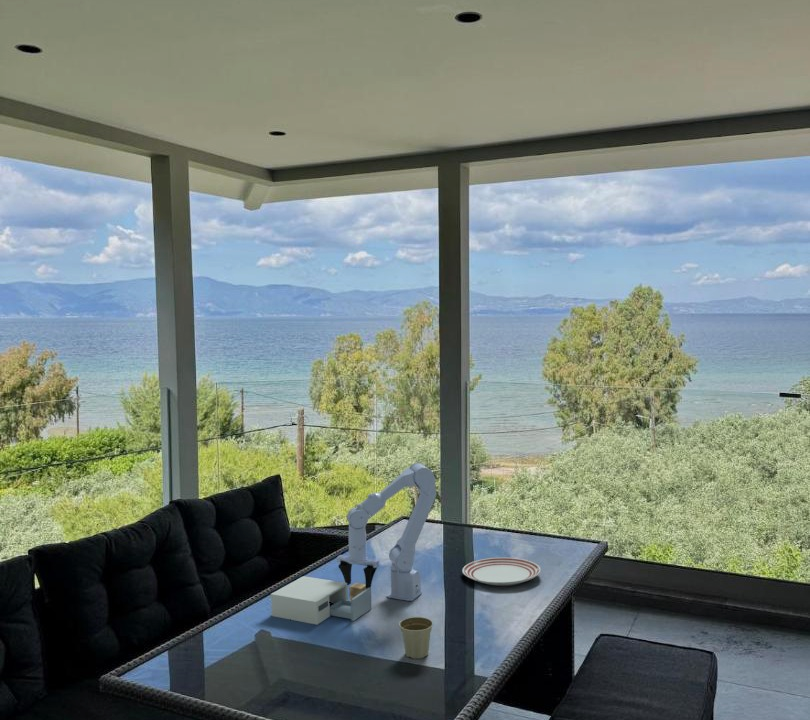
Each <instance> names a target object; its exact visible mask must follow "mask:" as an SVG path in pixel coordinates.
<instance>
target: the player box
mask: <svg viewBox="0 0 810 720" xmlns="http://www.w3.org/2000/svg"><path fill="white" fill-rule="evenodd" d="M348 598H349V597H348V585H347V583H345V582H342V581H336V580H331V579H330V580H329V579H324V578H317V577H312V576H311V577H310V576H304V575H303V576H301V577H299V578H297V579H296V580H294V581H291V582H290V583H288V584H286V585H284V586H283V587H281V588H279V589H277V590H276V591H274V592H272V593H270V609H271V615H270V616H271V617H275V618H279V619H280V618H281V619H284V620H290V619H291V621H295V622H296V621H297V622H302V623H306V624H312V625H317V626H318V625H319V624H320V623H322V622H324V621H325V620H326V619H328V618H330V617H331V615H330V606H331V605H330V604H335V603H336V602H338V601H339V600H341V599H344V600H348ZM329 602H331V603H329Z"/></svg>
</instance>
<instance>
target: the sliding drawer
mask: <svg viewBox="0 0 810 720" xmlns="http://www.w3.org/2000/svg"><path fill="white" fill-rule="evenodd" d="M329 606H330V616H332V617H339V618H344V619H349V620H351V621H352V622H354V621H356V620H357V619H359V618H360V617H362V616H363V615H364V614H366V613H367V612H368V611H371V610H372V587H370V588H367V589H366V590H364V591H363V592H361V593H360V594H358V595H357V596H355V597H354V598H352V599H351V601H350V599H349V600H344V599H341V600H339V601H338V602H336V603H332V605H329Z"/></svg>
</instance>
